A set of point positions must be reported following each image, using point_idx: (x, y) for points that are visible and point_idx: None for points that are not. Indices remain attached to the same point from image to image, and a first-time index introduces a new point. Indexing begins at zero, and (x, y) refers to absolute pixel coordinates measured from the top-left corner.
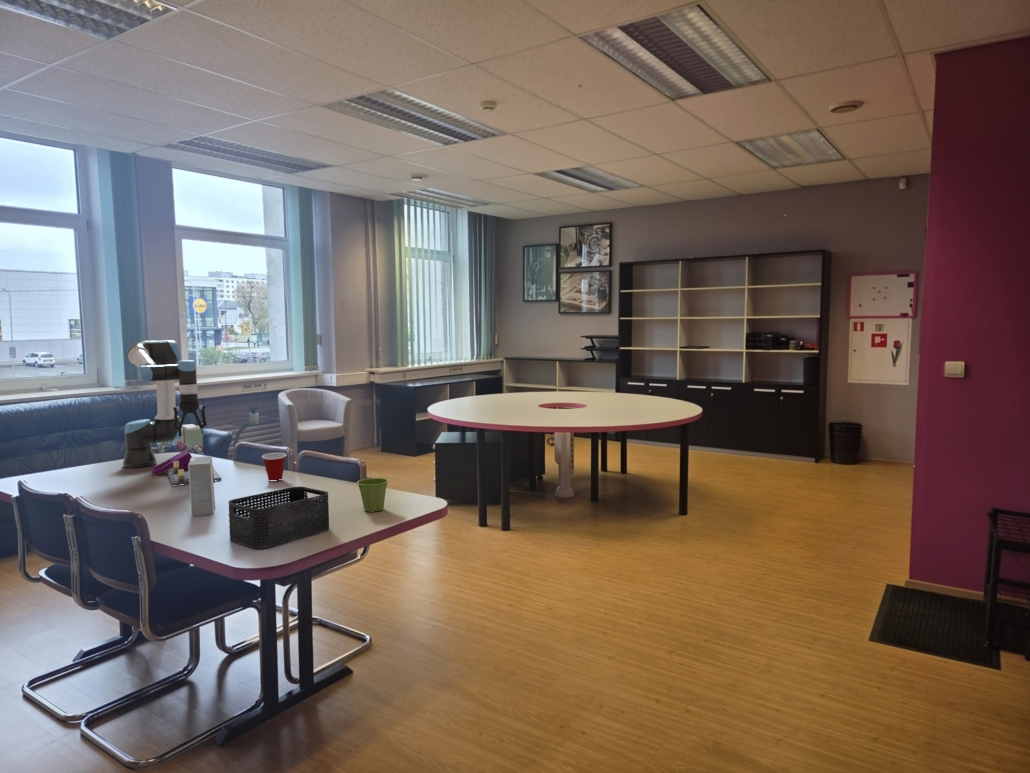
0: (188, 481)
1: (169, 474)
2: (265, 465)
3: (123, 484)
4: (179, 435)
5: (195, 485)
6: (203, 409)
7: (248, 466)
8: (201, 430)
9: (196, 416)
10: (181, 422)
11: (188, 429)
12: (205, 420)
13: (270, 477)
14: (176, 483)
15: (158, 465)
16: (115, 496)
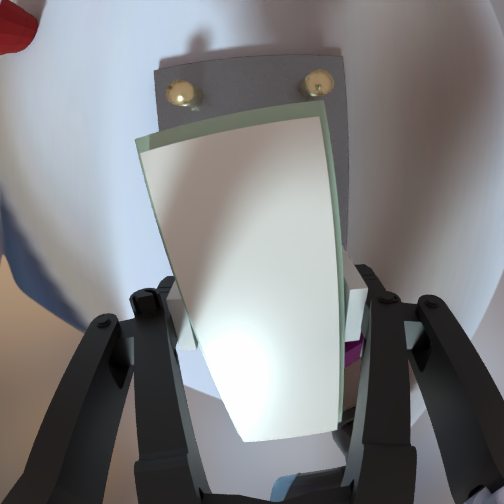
0: (283, 55)
1: (343, 243)
2: (12, 9)
3: (463, 207)
4: (365, 268)
5: None
6: (28, 491)
7: (86, 292)
8: (141, 138)
9: (162, 426)
10: (392, 348)
11: (309, 118)
12: (76, 356)
13: (29, 14)
14: (328, 56)
15: (358, 354)
16: (478, 46)
